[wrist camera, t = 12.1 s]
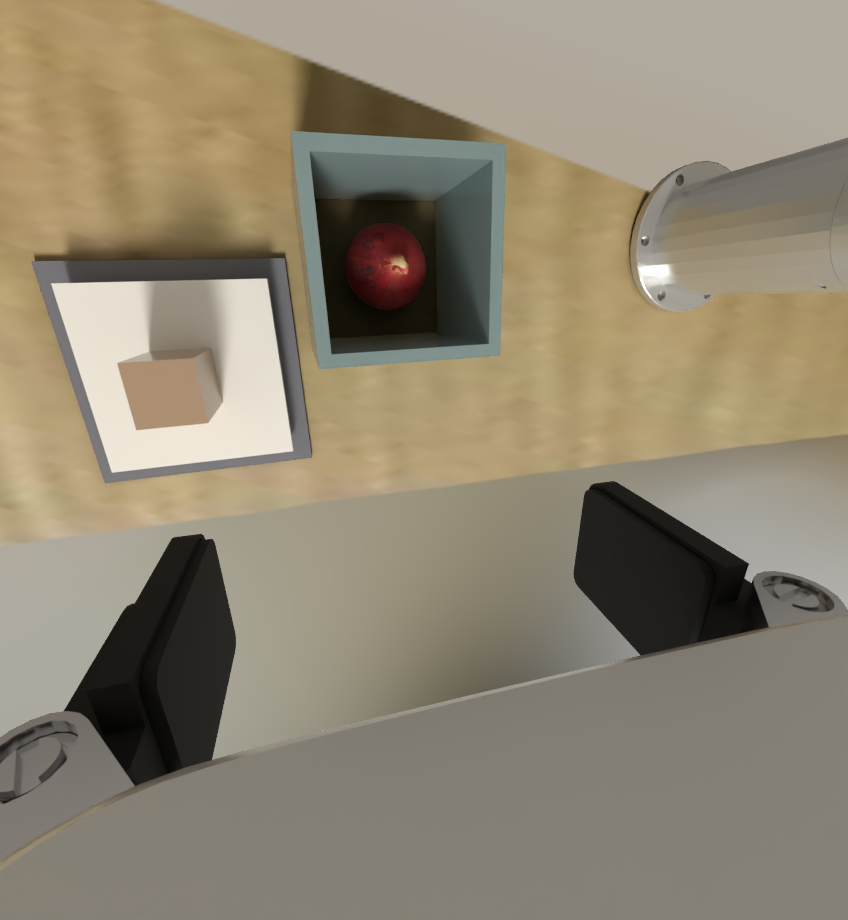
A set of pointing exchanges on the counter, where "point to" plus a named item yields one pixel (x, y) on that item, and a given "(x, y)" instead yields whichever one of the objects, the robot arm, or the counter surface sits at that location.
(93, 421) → the mat
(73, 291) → the lid
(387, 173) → the teal storage bin
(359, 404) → the counter surface
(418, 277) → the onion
